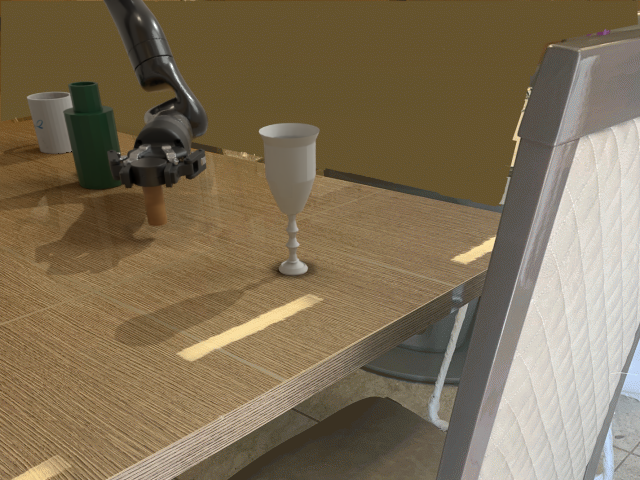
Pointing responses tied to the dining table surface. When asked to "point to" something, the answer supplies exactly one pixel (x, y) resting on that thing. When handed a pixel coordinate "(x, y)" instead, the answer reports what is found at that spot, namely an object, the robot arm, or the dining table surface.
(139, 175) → the stopper
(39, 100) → the mug
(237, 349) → the dining table surface
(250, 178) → the dining table surface
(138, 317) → the dining table surface
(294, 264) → the chalice
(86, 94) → the bottle
